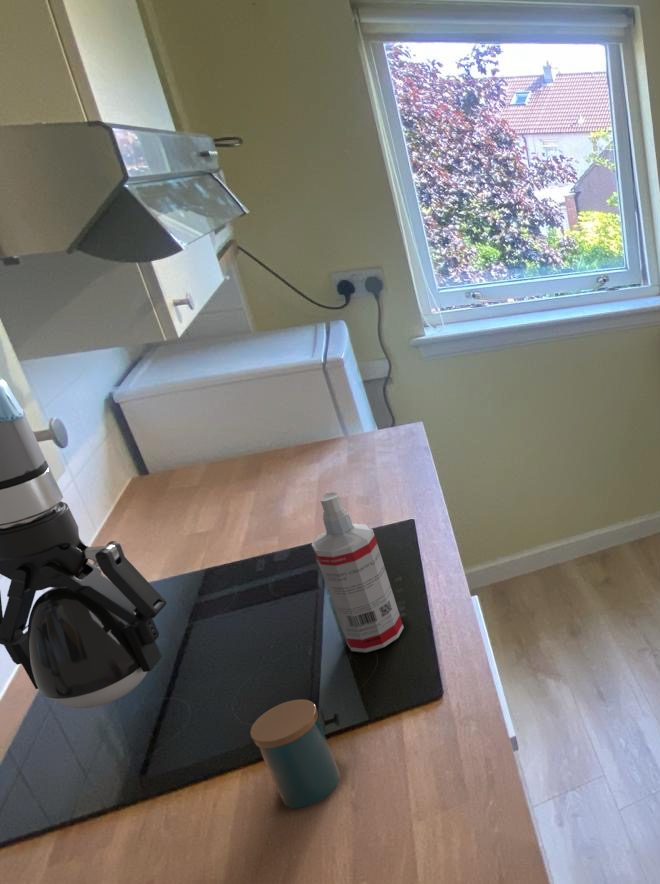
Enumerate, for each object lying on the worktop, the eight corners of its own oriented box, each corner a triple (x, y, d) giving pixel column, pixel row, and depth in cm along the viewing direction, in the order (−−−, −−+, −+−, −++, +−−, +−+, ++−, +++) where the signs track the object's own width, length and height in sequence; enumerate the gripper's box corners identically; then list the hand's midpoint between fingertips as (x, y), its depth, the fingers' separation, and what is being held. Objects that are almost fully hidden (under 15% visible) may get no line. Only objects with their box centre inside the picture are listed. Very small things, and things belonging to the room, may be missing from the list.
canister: (277, 819, 85) (245, 750, 80) (285, 778, 90) (255, 710, 85) (340, 797, 87) (312, 728, 82) (344, 758, 92) (318, 692, 88)
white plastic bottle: (410, 636, 114) (366, 495, 103) (357, 660, 109) (306, 515, 99) (393, 614, 119) (349, 478, 108) (342, 636, 114) (291, 496, 104)
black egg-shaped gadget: (177, 653, 96) (132, 555, 90) (140, 709, 87) (88, 604, 81) (81, 672, 93) (29, 572, 87) (33, 731, 84) (-30, 624, 78)
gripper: (158, 484, 86) (221, 636, 95) (-81, 511, 81) (10, 668, 90) (121, 515, 79) (193, 675, 88) (-142, 546, 74) (-38, 713, 83)
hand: (100, 672), depth 89 cm, fingers closed on black egg-shaped gadget, 10 cm apart
